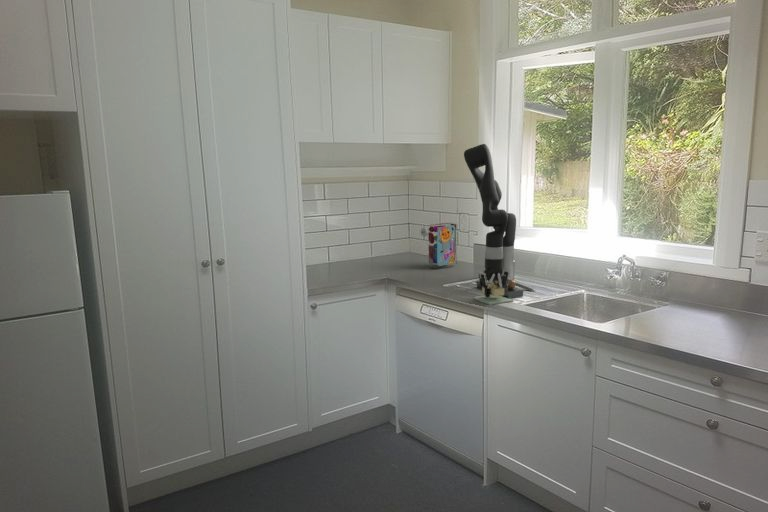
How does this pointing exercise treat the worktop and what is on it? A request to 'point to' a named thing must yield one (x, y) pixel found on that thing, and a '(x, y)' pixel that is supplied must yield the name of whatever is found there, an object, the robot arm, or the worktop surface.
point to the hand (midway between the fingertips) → (492, 296)
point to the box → (441, 244)
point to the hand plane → (507, 289)
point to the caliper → (523, 286)
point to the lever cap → (495, 290)
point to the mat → (493, 299)
